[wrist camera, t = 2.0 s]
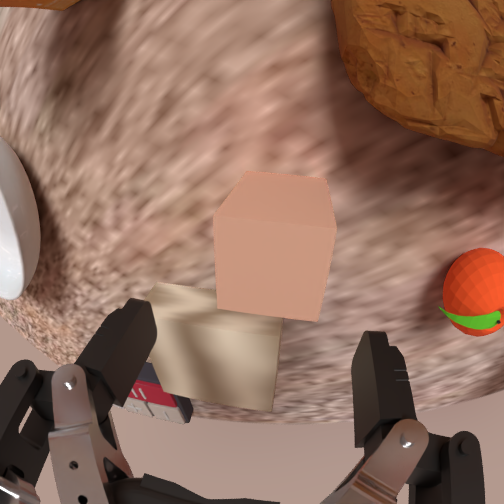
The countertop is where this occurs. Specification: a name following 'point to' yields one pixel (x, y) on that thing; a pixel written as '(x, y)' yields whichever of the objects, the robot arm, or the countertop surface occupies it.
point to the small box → (39, 4)
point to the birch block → (213, 349)
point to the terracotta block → (274, 245)
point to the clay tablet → (429, 64)
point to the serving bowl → (16, 226)
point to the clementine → (475, 292)
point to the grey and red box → (156, 399)
